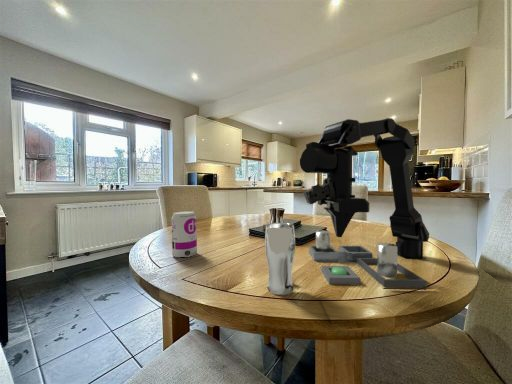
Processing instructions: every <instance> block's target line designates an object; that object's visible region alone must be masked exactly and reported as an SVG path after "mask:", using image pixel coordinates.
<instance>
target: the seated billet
mask: <svg viewBox="0 0 512 384" xmlns="http://www.w3.org/2000/svg"><path fill="white" fill-rule="evenodd" d="M315 246H316V252H330V246H331V232H330V231H328V230H316V231H315Z"/></svg>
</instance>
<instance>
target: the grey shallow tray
mask: <svg viewBox="0 0 512 384" xmlns="http://www.w3.org/2000/svg"><path fill="white" fill-rule="evenodd" d="M308 254H309V255H310V256H311V258H312V261H314V262H316V263H317V264H318V263H320V264H321V263H323V264H324V263H329V264H331V263H335V264H337V263H339V264H341V263H343V264H345V263H347V264H348V263H349V264H351V263H353V264H354V263H355V264H357V258H373V252H372V251H370V250H368V248H366V247H364V246H362V245H338V251H337V249H336V248H334V247H333V246H332V245H330V252H316V245H308Z"/></svg>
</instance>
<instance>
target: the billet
mask: <svg viewBox="0 0 512 384" xmlns="http://www.w3.org/2000/svg"><path fill="white" fill-rule="evenodd" d="M376 244H377V245H376V251H377V253H376V254H377V255H376V258H377V264H376V272H377V273H378V274H380V275H381V276H382V277H384V278H389V279H393V278H397V277H398V271H397V263H398V255H397V245H396V243H395V244H394V243H390V242H378V243H376Z"/></svg>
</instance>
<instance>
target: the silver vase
mask: <svg viewBox="0 0 512 384" xmlns="http://www.w3.org/2000/svg"><path fill="white" fill-rule="evenodd" d="M264 234H265V235H264V249H265V256H266V257H265V258H266V261H267V263H266V264H267V267H268V281H267V286H266V287H267V290H268V291H269V292H270V293H271V294H273V295H275V296H288V295H289V294H292V293H293V291H294V282H293V278H292V272H293V265H294V259H295V253H296V251H295V250H296V236H295V225H294V224H292V223H289V222H270V223H267V224H266V225H265V232H264Z"/></svg>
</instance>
